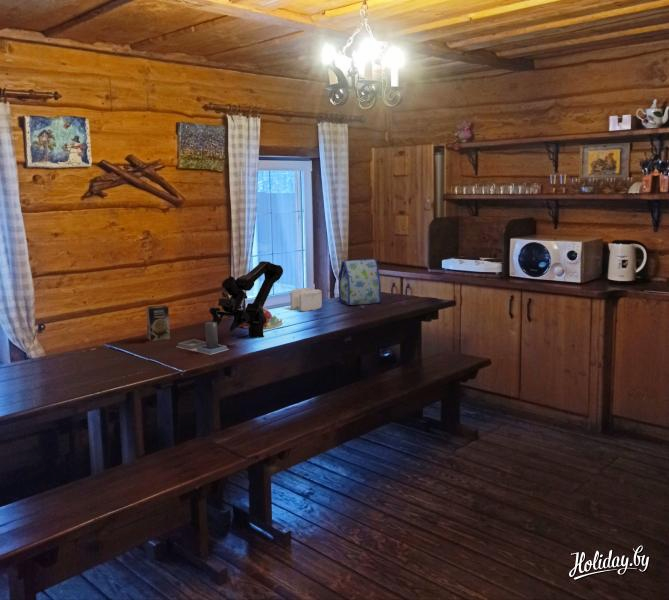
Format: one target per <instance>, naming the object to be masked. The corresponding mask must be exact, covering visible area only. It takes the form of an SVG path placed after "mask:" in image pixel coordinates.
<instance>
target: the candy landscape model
mask: <svg viewBox="0 0 669 600" xmlns="http://www.w3.org/2000/svg"><path fill="white" fill-rule="evenodd" d="M263 311H264V314H263V315H264V316H265V318H266V319H267V320H266V323H265V324H263V331H264V330H272V329H275V328H279V327H282V326H284V325H283V320H282V319H283V318H281V319H280V320H279V318H278V317H277V316H276V315H272V313H271V312H270V311H269V310H268V308H267V307H265V306H263ZM248 326H249V323H246V322H245V323H243V324H241V325H240V326H238V328H241V329H243V328H245V329H248Z"/></svg>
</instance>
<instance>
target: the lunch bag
mask: <svg viewBox="0 0 669 600" xmlns="http://www.w3.org/2000/svg"><path fill="white" fill-rule="evenodd" d="M338 278H339V279H338V301H339V303H340V304H346V305H347V306H358V305H368V304H369V305H370V304H377V303H378V304H380V303H381V302H382V287H381V280H380V279H381V278H380V272H379V266H378V260H377V259H375V258H365V259H352V260H342V262H341V265H340V270H339V273H338Z"/></svg>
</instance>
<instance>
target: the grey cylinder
mask: <svg viewBox="0 0 669 600" xmlns="http://www.w3.org/2000/svg"><path fill="white" fill-rule="evenodd" d="M204 325H205V326H204V327H205V328H204V329H205V342H206V349H211V350H212V349H215V348H218V344H219V342H218V339H219V338H218V326H217V322H213V321H207V322H204Z"/></svg>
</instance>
